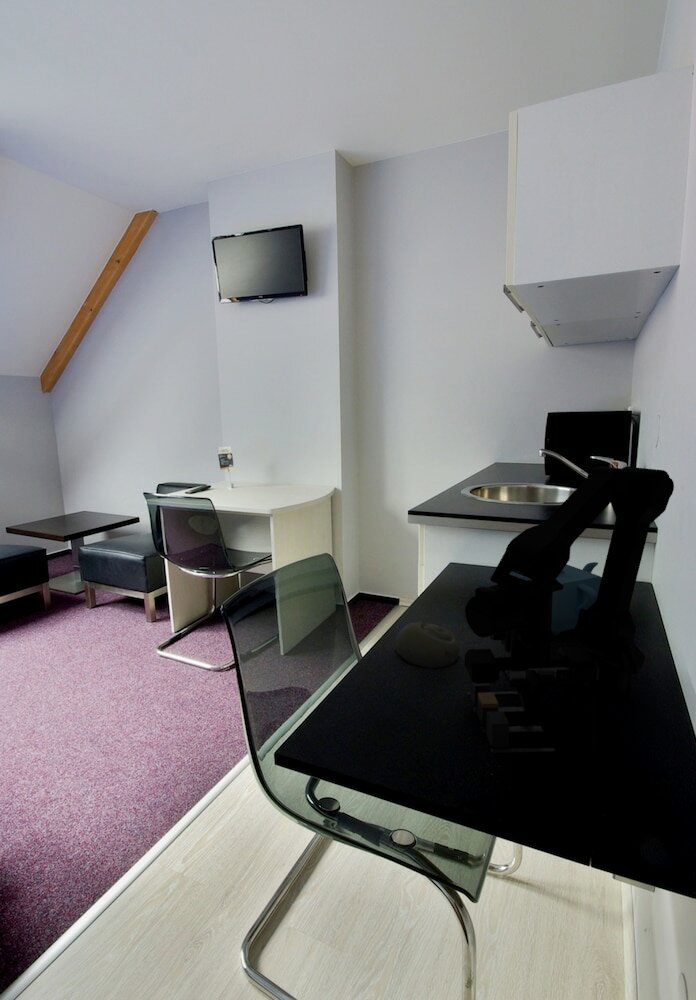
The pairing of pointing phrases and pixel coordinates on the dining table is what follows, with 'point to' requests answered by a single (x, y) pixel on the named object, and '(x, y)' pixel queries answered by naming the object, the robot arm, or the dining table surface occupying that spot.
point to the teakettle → (572, 595)
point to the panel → (516, 729)
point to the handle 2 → (497, 729)
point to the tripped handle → (486, 705)
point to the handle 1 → (478, 691)
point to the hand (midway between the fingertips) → (527, 714)
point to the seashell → (427, 645)
